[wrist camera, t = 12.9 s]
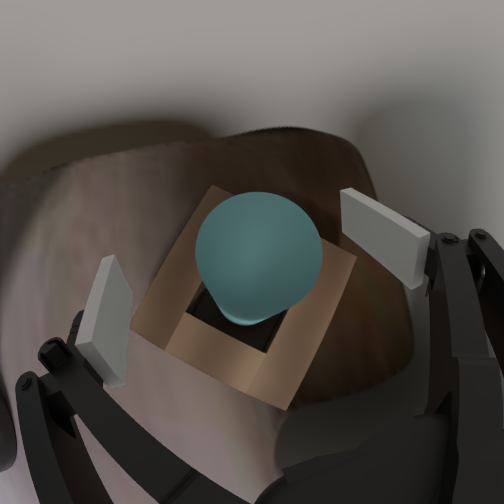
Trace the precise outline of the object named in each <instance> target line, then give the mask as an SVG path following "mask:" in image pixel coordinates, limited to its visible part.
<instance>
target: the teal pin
mask: <svg viewBox="0 0 504 504" xmlns="http://www.w3.org/2000/svg"><path fill="white" fill-rule="evenodd" d="M195 256H196V263H197V268H198V271H199V274H200V276H201V278H202V280H203V282H204V284H205V286H206V287H207V289H208V291H209V292H210V294H211V296H212V297H213V299H214V301H215V302H216V304H217V306H218V307H219V309H220V310H221V312H222V314H223V315H224V317H225V318H226V319H227V320H229V321H230V322H231V323H233V324H235V325H239V326H250V325H254V324H256V323H258V322H261V321H263V320H265V319H267V318H269V317H271V316H273V315H276V314H278V313H280V312H282V311H284V310H286V309H288V308H290V307H292V306H293V305H295V304H297V303H298V302H299V301H300V300H302V299H303V298H304V297H305V296H306V295H307V294H308V293H309V292H310V290H311V289H312V287H313V286H314V284H315V282H316V280H317V278H318V276H319V273H320V270H321V265H322V244H321V239H320V236H319V233H318V231H317V229H316V227H315V225H314V223H313V222H312V220H311V219H310V217H309V216H308V215H307V214H306V213H305V212H304V211H303V210H302V209H301V208H300V207H299V206H298V205H296V204H295V203H293V202H292V201H290V200H288V199H286V198H284V197H282V196H279V195H276V194H272V193H266V192H248V193H243V194H239V195H236V196H233V197H231V198H229V199H227V200H225V201H224V202H222V203H220V204H219V205H218V206H217V207H215V208H214V209H213V210H212V211H211V212H210V214H209V215H208V216H207V217H206V219H205V220H204V222H203V224H202V226H201V228H200V230H199V233H198V236H197V240H196V248H195Z"/></svg>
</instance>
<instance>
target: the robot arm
mask: <svg viewBox="0 0 504 504" xmlns="http://www.w3.org/2000/svg"><path fill="white" fill-rule="evenodd" d="M340 198H341V217H342V232H343V233H344V234H345V235H347V236H348V237H349V238H350V239H352V240H353V241H354V242H355V243H357V244H358V245H359V246H360V247H362V248H363V249H364V250H365V251H366V252H368V253H369V254H370V255H371V256H372V257H374V258H375V259H376V260H377V261H378V262H380V263H381V264H382V265H383V266H384V267H385V268H387V269H388V270H389V271H390V272H391V273H392V274H394V275H395V276H396V277H397V278H398V279H399V280H400V281H402V282H403V283H404V284H405V285H406V286H407V287H409V289H411V290H412V289H414V288H416V287H418V286H420V285H421V284H422V282H423V277H424V274H426V275H427V276H428V277H429V281H428V286H427V290H426V295H425V297H427V296H428V293H429V307H430V338H431V339H430V340H431V341H430V376H429V392H428V401H427V406H426V409H425V412H424V414H419V415H415V416H413V415H412V413H411V412H410V410H408V411H407V412H405V413H403V414H402V415H400V416H398V417H397V418H395V419H393V420H392V421H390V422H388V423H386V424H384V425H383V426H381V427H380V428H379V429H378V430H377V431H376V432H375V433H374V434H373V435H372V436H370V437H369V438H368V439H367V440H366V441H364V442H363V443H362V444H361V445H359V446H358V447H357V448H355V449H353V450H349V451H344V452H340V453H335V454H329V455H324V456H318V457H315V458H312V459H309V460H307V461H304V462H301V463H299V464H296V465H293V466H290V467H287V468H284V469H282V470H283V473H284V475H285V476H282V477H280V478H279V479H277V480H276V481H274V482H273V483H272V484H270V485H269V486H268V487H267V488H266V489H265V490H264V491H263V492H262V493H261V494H260V496H259V497H258V498H257V500H256V501H255V503H254V504H504V429H503V401H502V387H501V377H500V368H501V371H502V374H503V377H504V250H503V249H502V248H501V247H500V245H499V244H498V243H497V242H496V241H495V239H494V238H493V237H492V236H491V235H490V234H489V233H488V232H486V231H484V230H483V229H482V230H481V229H472V230H470V233H469V238H468V239H464V240H460V238H459V237H457V236H456V235H453V234H451V233H440V234H436V233H434V232H433V231H431V230H429V229H428V228H426V227H424V226H423V225H421V224H419V223H418V222H416V221H414V220H413V219H411V218H409V217H407V216H403V215H400V214H398V213H396V212H395V211H393V210H391V209H389V208H387V207H386V206H384V205H382V204H380V203H379V202H377V201H375V200H373V199H371V198H369V197H367V196H366V195H364V194H362V193H360V192H358V191H356V190H354V189H352V188H348V189H343V190H340ZM484 268H485V275H484V274H483V272H484ZM132 302H133V292H132V290H131V288H130V286H129V284H128V282H127V280H126V278H125V276H124V274H123V271H122V269H121V267H120V265H119V263H118V260H117V258H116V256H115V254H113V255H110V256H107V257H104V258H102V261H101V264H100V266H99V269H98V272H97V275H96V277H95V280H94V283H93V286H92V289H91V292H90V295H89V298H88V301H87V304H86V307H85V310H82V311H79V313H78V314H77V315H76V317H75V318H74V320H73V323H72V326H71V327H72V328H71V330H70V335H69V336H68V340H67V343H66V344H65V343H64V341H63V340H62V339H61V338H59V337H54V338H51V339H49V340H48V341H46V342H45V343H44V344H43V345H42V346H41V348H40V350H39V352H38V360H39V361H40V362H41V363H42V364H43V366H44V367H45V368H46V369H47V370H48V371H49V373H47V374H45V375H43V376H41V377H40V378H39V377H38V376H37V375H36V374H35V373H34V372H32V371H28V372H26V373H24V374H23V375H21V376H20V378H19V379H18V381H17V383H16V387H15V392H16V402H17V410H18V417H19V424H20V430H21V435H22V440H23V445H24V450H25V454H26V458H27V462H28V466H29V470H30V474H31V477H32V481H33V484H34V487H35V490H36V493H37V496H38V499H39V502H40V504H114V503H113V502H112V500H111V498H110V496H109V495H108V493H107V491H106V489H105V487H104V485H103V483H102V481H101V479H100V477H99V475H98V473H97V471H96V469H95V467H94V465H93V463H92V461H91V458H90V456H89V454H88V452H87V449H86V447H85V445H84V442H83V440H82V437H81V435H80V432H79V430H78V427H77V424H76V421H75V419H74V416H73V415H75V414H78V416H79V417H80V418H81V420H82V421H83V422H84V424H85V425H86V426H87V428H88V429H89V430H90V432H91V433H92V434H93V435H94V437H95V438H96V439H97V440H98V441H99V443H100V444H101V445H102V446H103V447H104V448H105V450H106V451H107V452H108V453H109V454H110V455H111V456H112V458H113V459H114V460H115V461H116V462H117V463H118V464H119V465H120V466H121V467H122V468H123V469H124V470H125V471H126V472H127V474H128V475H129V476H130V477H131V478H132V479H133V480H135V481H136V482H137V483H138V484H139V485H140V486H141V487H142V488H143V489H144V490H145V491H146V492H147V493H148V494H149V495H150V496H152V497H153V498H154V499H155V500H156V501H157V502H158V503H159V504H250V503H248V502H247V501H245V500H243V499H241V498H239V497H238V496H236V495H234V494H233V493H231V492H229V491H228V490H226V489H224V488H223V487H221V486H220V485H218V484H216V483H215V482H213V481H212V480H210V479H209V478H207V477H206V476H204V475H203V474H201V473H200V472H198V471H197V470H195V469H194V468H192V467H191V466H190V465H188V464H187V463H186V462H184V461H183V460H182V459H180V458H179V457H178V456H176V455H175V454H174V453H172V452H171V451H170V450H169V449H167V448H166V447H165V446H164V445H162V444H161V443H160V442H159V441H158V440H156V439H155V438H154V437H153V436H152V435H151V434H149V433H148V432H147V431H146V430H145V429H144V428H143V427H141V426H140V425H139V424H138V423H137V422H136V421H135V420H134V419H133V418H132V417H131V416H130V415H129V414H127V413H126V412H125V411H124V410H123V409H122V408H121V407H120V406H119V405H118V404H117V403H116V402H115V401H114V400H113V399H112V398H111V397H110V396H109V394H108V393H107V392H106V391H105V390H104V389H103V381H104V382H105V384H106V385H107V386H108V387H109V388H110V389H114V388H119V387H124V386H126V368H127V352H128V340H129V329H130V319H131V310H132ZM485 331H486V333H487V335H488V337H489V340H490V342H491V345H492V347H493V350H494V352H495V355H496V358H497V359H496V358H489V354H488V346H487V340H486V333H485ZM499 366H500V368H499ZM15 458H16V438H15V433H14V428H13V424H12V421H11V417H10V414H9V411H8V408H7V406H6V403H5V401H4V398H3V396H2V394H1V392H0V472H3V471H5V470H7V469H9V468H10V467H12V465H13V464H14V462H15Z"/></svg>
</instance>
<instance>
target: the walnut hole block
mask: <svg viewBox="0 0 504 504" xmlns="http://www.w3.org/2000/svg"><path fill="white" fill-rule="evenodd" d="M233 196H236V195H233V194H231V193H229V192H227V191H225V190H223V189H221V188H218V187H216V186H214V185H211V186H210V188H209V190H208V191H207V193H206V194H205V196H204V197H203V199H202V200H201V202H200V203H199V205H198V207H197V208H196V210H195V211H194V213H193V214H192V216H191V218H190V219H189V221H188V223H187V224H186V226H185V227H184V229H183V231H182V232H181V234H180V236H179V237H178V239H177V241H176V242H175V244H174V246H173V247H172V249H171V251H170V252H169V254H168V256H167V257H166V259H165V261H164V263H163V264H162V266H161V268H160V269H159V271H158V273H157V275H156V276H155V278H154V280H153V282H152V284H151V285H150V287H149V289H148V291H147V293H146V294H145V296H144V298H143V300H142V302H141V304H140V305H139V307H138V309H137V311H136V313H135V315H134V317H133V319H132V320H131V322H130V329H131V330H132V331H134V332H135V333H137V334H139V335H140V336H142V337H143V338H145V339H146V340H148V341H150V342H151V343H153V344H155V345H156V346H158V347H159V348H161V349H163V350H164V351H166V352H168V353H170V354H171V355H173V356H175V357H176V358H178V359H180V360H182V361H183V362H185V363H187V364H189V365H191V366H192V367H194V368H196V369H198V370H200V371H202V372H204V373H205V374H207V375H209V376H211V377H213V378H215V379H217V380H219V381H221V382H223V383H225V384H227V385H229V386H231V387H233V388H235V389H237V390H239V391H242V392H244V393H246V394H248V395H250V396H252V397H255V398H257V399H259V400H261V401H264V402H266V403H268V404H271V405H273V406H275V407H278V408H280V409H282V410H285V411H286V410H287V408H288V406H289V404H290V402H291V400H292V399H293V397H294V395H295V393H296V391H297V389H298V387H299V385H300V384H301V382H302V380H303V378H304V376H305V374H306V372H307V370H308V368H309V366H310V364H311V362H312V360H313V358H314V356H315V354H316V351H317V349H318V347H319V345H320V343H321V341H322V339H323V337H324V334H325V332H326V330H327V328H328V326H329V323H330V321H331V319H332V317H333V314H334V312H335V310H336V307H337V305H338V303H339V300H340V298H341V296H342V293H343V291H344V288H345V286H346V283H347V281H348V278H349V276H350V273H351V271H352V268H353V265H354V263H355V260H356V258H357V257H356V256H354V255H353V254H351V253H349V252H347V251H345V250H343V249H341V248H339V247H338V246H336V245H334V244H332V243H330V242H328V241H326V240H324V239H322V238H320V239H321V244H322V265H321V270H320V273H319V276H318V278H317V280H316V282H315V284H314V286H313V287H312V289H311V290H310V292H309V293H308V294H307V295H306V296H305V297H304V298H303V299H302V300H300V301H299V302H298V303H297V304H295V305H293V306H292V307H290V308H288V309H286V310H284V311H282V312H280V313H278V314H276V315H273V316H271V317H269V318H267V319H265V320H263V321H261V322H258V323H256V324H254V325H250V326H239V325H235V324H233V323H231V322H230V321H229V320H227V319H226V318H225V317H224V315H223V314H222V312H221V310H220V309H219V307H218V306H217V304H216V302H215V301H214V299H213V297H212V296H211V294H210V292H209V291H208V289H207V287H206V286H205V284H204V282H203V280H202V278H201V276H200V274H199V271H198V268H197V263H196V256H195V248H196V240H197V236H198V233H199V230H200V228H201V226H202V224H203V222H204V220H205V219H206V217H207V216H208V215H209V214H210V212H211V211H212V210H213V209H214V208H215V207H217V206H218V205H219V204H220V203H222V202H224V201H225V200H227V199H229V198H231V197H233Z"/></svg>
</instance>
